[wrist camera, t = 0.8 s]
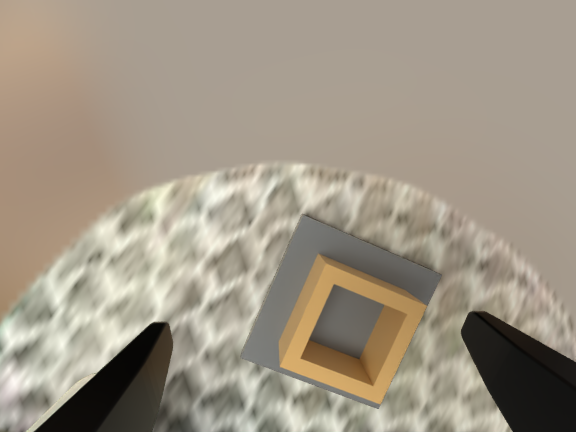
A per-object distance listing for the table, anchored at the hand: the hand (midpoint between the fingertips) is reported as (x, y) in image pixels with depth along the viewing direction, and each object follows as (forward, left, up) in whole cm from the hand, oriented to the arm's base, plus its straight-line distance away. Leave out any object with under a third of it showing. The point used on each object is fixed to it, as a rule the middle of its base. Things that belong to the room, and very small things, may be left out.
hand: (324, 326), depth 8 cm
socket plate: (-5, -7, -17) cm, 19 cm away
